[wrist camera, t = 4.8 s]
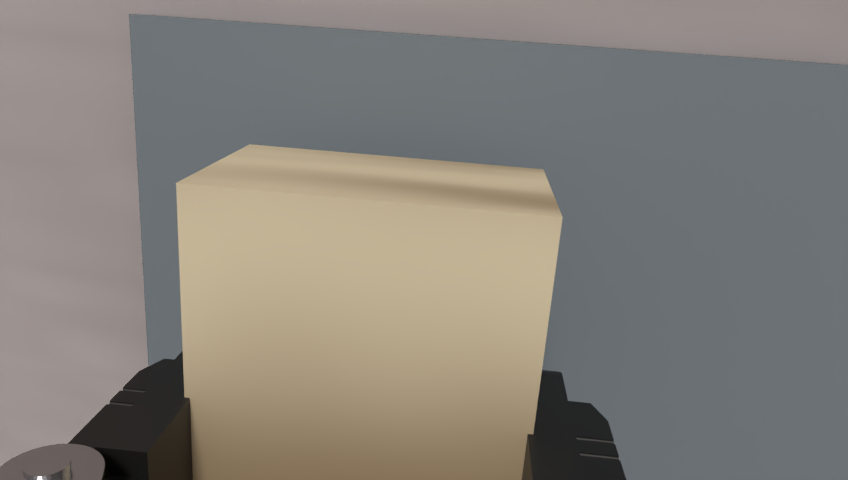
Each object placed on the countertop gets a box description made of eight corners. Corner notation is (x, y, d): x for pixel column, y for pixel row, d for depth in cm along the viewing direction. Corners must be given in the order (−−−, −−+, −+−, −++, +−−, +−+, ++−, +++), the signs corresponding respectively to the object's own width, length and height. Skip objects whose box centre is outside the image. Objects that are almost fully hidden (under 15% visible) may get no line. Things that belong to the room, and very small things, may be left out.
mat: (141, 14, 13) (129, 13, 13) (1255, 94, 12) (1288, 97, 12) (169, 572, 17) (160, 587, 17) (1018, 667, 16) (1035, 687, 16)
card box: (249, 144, 12) (171, 185, 9) (543, 169, 12) (564, 219, 9) (251, 549, 15) (192, 687, 12) (492, 578, 14) (494, 727, 11)
